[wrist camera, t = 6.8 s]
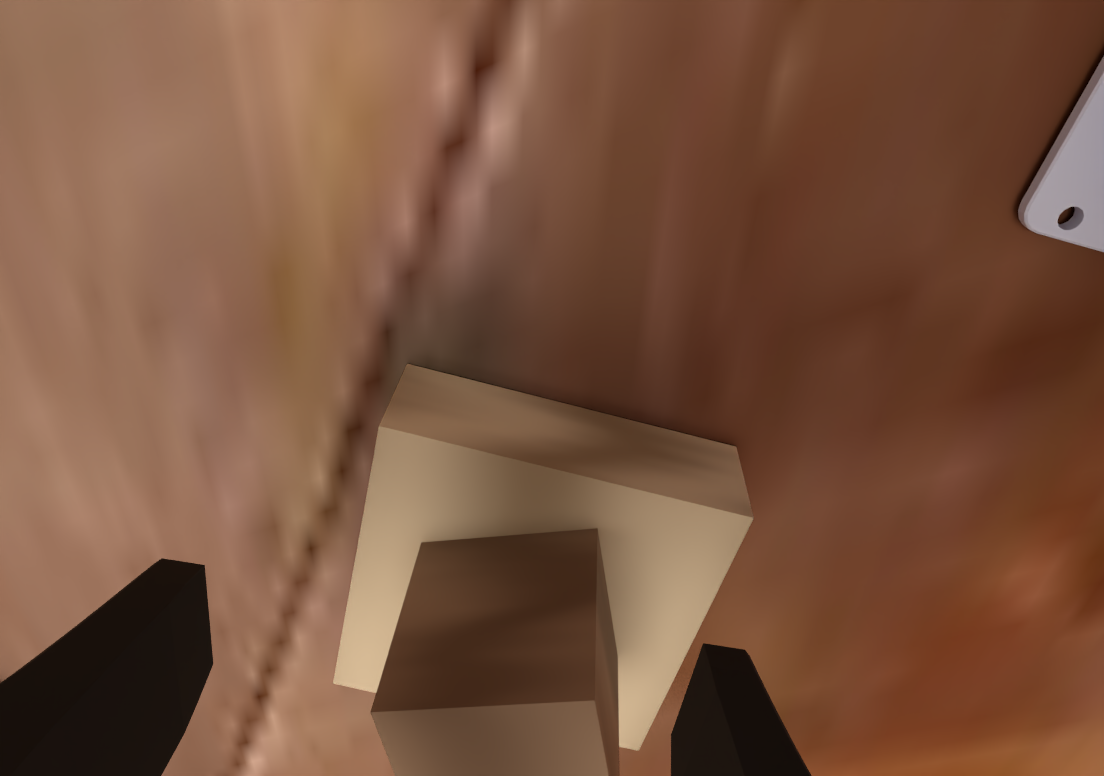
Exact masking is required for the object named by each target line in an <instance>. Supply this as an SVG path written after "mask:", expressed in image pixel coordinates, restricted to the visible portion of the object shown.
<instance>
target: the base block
mask: <svg viewBox="0 0 1104 776" xmlns="http://www.w3.org/2000/svg"><path fill="white" fill-rule="evenodd" d="M753 519H754V517H753V513H752V509H751V505H750V501H749V496H748V492H747V488H746V484H745V480H744V476H743V472H742V468H741V464H740V460H739V455H738V451H737V447H735V446H731V445H728V444H724V443H720V442H716V441H712V440H708V439H704V438H700V437H696V436H692V435H688V434H684V433H680V432H676V431H672V430H668V429H664V428H660V427H656V426H652V425H648V424H644V423H640V422H636V421H632V420H628V419H625V418H621V417H617V416H613V415H609V414H605V413H601V412H597V411H593V410H589V409H585V408H581V407H577V406H573V405H569V404H565V403H561V402H557V401H553V400H549V399H545V398H541V397H537V396H533V395H529V394H526V393H522V392H518V391H514V390H510V389H506V388H502V387H498V386H494V385H490V384H486V383H482V382H478V381H474V380H470V379H466V378H462V377H458V376H454V375H450V374H446V373H442V372H438V371H434V370H430V369H426V368H423V367H419V366H415V365H411V364H407V365H406V367H405V369H404V372H403V374H402V376H401V378H400V380H399V383H398V385H397V387H396V389H395V392H394V394H393V396H392V398H391V400H390V403H389V405H388V407H387V409H386V412H385V414H384V416H383V418H382V420H381V423H380V425H379V429H378V434H377V440H376V446H375V451H374V457H373V462H372V468H371V474H370V479H369V485H368V490H367V496H366V502H365V507H364V513H363V518H362V524H361V530H360V535H359V541H358V547H357V552H356V558H355V563H354V569H353V575H352V580H351V586H350V591H349V597H348V603H347V608H346V614H345V619H344V625H343V631H342V636H341V642H340V647H339V653H338V659H337V664H336V670H335V675H334V681H333V684H338V685H343V686H347V687H352V688H356V689H361V690H365V691H370V692H374V693H376V692H377V689H378V686H379V682H380V679H381V676H382V672H383V669H384V666H385V662H386V659H387V656H388V652H389V649H390V645H391V642H392V639H393V635H394V632H395V629H396V625H397V622H398V619H399V615H400V612H401V609H402V605H403V602H404V599H405V595H406V592H407V589H408V585H409V582H410V578H411V575H412V572H413V568H414V565H415V562H416V558H417V555H418V552H419V548H420V545H421V542H433V541H445V540H458V539H470V538H483V537H495V536H508V535H520V534H533V533H545V532H558V531H570V530H583V529H595V528H598V534H599V541H600V547H601V553H602V560H603V566H604V572H605V579H606V585H607V591H608V597H609V604H610V610H611V616H612V623H613V629H614V635H615V642H616V648H617V654H618V707H619V747H624V748H628V749H633V750H637V751H639V749H640V747H641V745H642V743H643V741H644V739H645V737H646V735H647V732H648V730H649V728H650V726H651V724H652V722H653V720H654V718H655V716H656V714H657V712H658V710H659V708H660V706H661V704H662V702H663V700H664V698H665V696H666V694H667V692H668V690H669V688H670V686H671V684H672V682H673V680H674V678H675V676H676V674H677V672H678V670H679V668H680V666H681V664H682V662H683V660H684V658H685V656H686V654H687V652H688V650H689V648H690V646H691V644H692V642H693V640H694V638H695V636H696V634H697V632H698V630H699V628H700V626H701V624H702V622H703V620H704V617H705V615H706V613H707V611H708V609H709V607H710V605H711V603H712V601H713V599H714V597H715V595H716V593H717V591H718V589H719V587H720V585H721V583H722V581H723V579H724V577H725V575H726V573H727V571H728V569H729V567H730V565H731V563H732V561H733V559H734V557H735V555H736V553H737V551H738V549H739V547H740V545H741V543H742V541H743V539H744V537H745V535H746V533H747V531H748V529H749V527H750V525H751V523H752V521H753Z"/></svg>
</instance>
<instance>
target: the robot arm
mask: <svg viewBox="0 0 1104 776" xmlns="http://www.w3.org/2000/svg"><path fill="white" fill-rule="evenodd" d="M1069 207H1074V208H1075V211H1074V215H1073V217H1072V218H1071V219H1070V220H1069V221H1067V222H1065V223H1063V224H1058V222H1057V221H1058V218H1059V215H1060V214H1061V213H1062V212H1063V211H1064V210H1065V209H1067V208H1069ZM1018 216H1019V220H1020V221H1021V223H1022V224H1023V225H1024V226H1025V227H1026V228H1028V229H1029V230H1031V231H1033V232H1035V233H1037V234H1041V235H1044V236H1048V237H1052V238H1055V239H1059V240H1062V241H1066V242H1069V243H1073V244H1076V245H1080V246H1083V247H1087V248H1091V249H1094V250H1098V251H1101V252H1104V56H1103V58H1102V60H1101V61H1100V63H1099V65H1098V67H1097V69H1096V70H1095V72H1094V74H1093V76H1092V77H1091V79H1090V81H1089V83H1088V84H1087V86H1086V88H1085V90H1084V91H1083V93H1082V95H1081V97H1080V99H1079V100H1078V102H1077V104H1076V106H1075V107H1074V109H1073V111H1072V113H1071V114H1070V116H1069V118H1068V120H1067V121H1066V123H1065V125H1064V127H1063V129H1062V130H1061V132H1060V134H1059V136H1058V137H1057V139H1056V141H1055V143H1054V144H1053V146H1052V148H1051V150H1050V151H1049V153H1048V155H1047V157H1046V158H1045V160H1044V162H1043V164H1042V166H1041V167H1040V169H1039V171H1038V173H1037V174H1036V176H1035V178H1034V180H1033V181H1032V183H1031V185H1030V187H1029V188H1028V190H1027V192H1026V194H1025V196H1024V197H1023V199H1022V201H1021V203H1020V206H1019V209H1018ZM212 666H213V656H212V644H211V633H210V621H209V610H208V599H207V587H206V576H205V565H200V564H194V563H188V562H181V561H175V560H168V559H161V560H159V561H157V562H156V563H155V564H153V565H152V566H151V567H149V568H148V569H147V570H146V571H144V572H143V573H142V574H141V575H139V576H138V577H137V578H136V579H134V580H133V581H132V582H131V583H129V584H128V585H127V586H126V587H124V588H123V589H122V590H121V591H119V592H118V593H117V594H116V595H115V596H113V597H112V598H111V599H110V600H108V601H107V602H106V603H105V604H103V605H102V606H101V607H100V608H98V609H97V610H96V611H95V612H93V613H92V614H91V615H89V616H88V617H87V618H86V619H84V620H83V621H82V622H81V623H79V624H78V625H77V626H76V627H74V628H73V629H72V630H70V631H69V632H68V633H67V634H65V635H64V636H63V637H61V638H60V639H59V640H57V641H56V642H55V643H53V644H52V645H51V646H49V647H48V648H47V649H46V650H44V651H43V652H42V653H40V654H39V655H38V656H36V657H35V658H34V659H32V660H31V661H30V662H28V663H27V664H26V665H24V666H23V667H22V668H21V669H19V670H18V671H16V672H15V673H14V674H12V675H11V676H10V677H8V678H7V679H6V680H4V681H3V682H1V683H0V776H161V775H162V773H163V771H164V770H165V768H166V766H167V764H168V762H169V761H170V759H171V757H172V755H173V753H174V751H175V750H176V748H177V746H178V744H179V742H180V740H181V739H182V737H183V735H184V733H185V731H186V728H187V726H188V724H189V721H190V719H191V717H192V714H193V712H194V710H195V707H196V705H197V703H198V700H199V698H200V695H201V693H202V690H203V688H204V685H205V683H206V680H207V678H208V676H209V673H210V671H211V668H212ZM671 776H811V774H810V772H809V770H808V769H807V767H806V765H805V763H804V762H803V760H802V758H801V756H800V754H799V752H798V751H797V749H796V747H795V745H794V743H793V741H792V739H791V738H790V736H789V734H788V732H787V730H786V728H785V726H784V724H783V722H782V720H781V718H780V716H779V715H778V713H777V711H776V709H775V707H774V705H773V703H772V701H771V699H770V697H769V695H768V693H767V691H766V689H765V687H764V685H763V683H762V680H761V678H760V676H759V674H758V672H757V670H756V668H755V666H754V664H753V662H752V660H751V658H750V656H749V655H748V653H747V652H746V651H745V650H743V649H736V648H730V647H723V646H717V645H711V644H704V643H703V646H702V648H701V651H700V654H699V657H698V660H697V663H696V666H695V668H694V671H693V674H692V677H691V680H690V683H689V685H688V688H687V691H686V694H685V697H684V700H683V703H682V705H681V708H680V711H679V714H678V717H677V720H676V722H675V725H674V728H673V731H672V734H671Z"/></svg>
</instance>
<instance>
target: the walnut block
mask: <svg viewBox="0 0 1104 776" xmlns="http://www.w3.org/2000/svg"><path fill="white" fill-rule="evenodd" d="M371 715H372V717H373V720H374V723H375V725H376V728H377V730H378V733H379V736H380V738H381V741H382V743H383V746H384V748H385V751H386V754H387V756H388V759H389V761H390V764H391V766H392V769H393V772H394V774H395V776H619V707H618V654H617V648H616V642H615V635H614V629H613V623H612V616H611V610H610V604H609V597H608V591H607V585H606V579H605V572H604V566H603V560H602V553H601V547H600V541H599V534H598V528H595V529H583V530H570V531H558V532H545V533H533V534H520V535H508V536H495V537H483V538H470V539H458V540H445V541H433V542H421V545H420V548H419V552H418V555H417V558H416V562H415V565H414V568H413V572H412V575H411V578H410V582H409V585H408V589H407V592H406V595H405V599H404V602H403V605H402V609H401V612H400V615H399V619H398V622H397V625H396V629H395V632H394V635H393V639H392V642H391V645H390V649H389V652H388V656H387V659H386V662H385V666H384V669H383V672H382V676H381V679H380V682H379V686H378V689H377V692H376V696H375V699H374V702H373V706H372V709H371Z"/></svg>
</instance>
